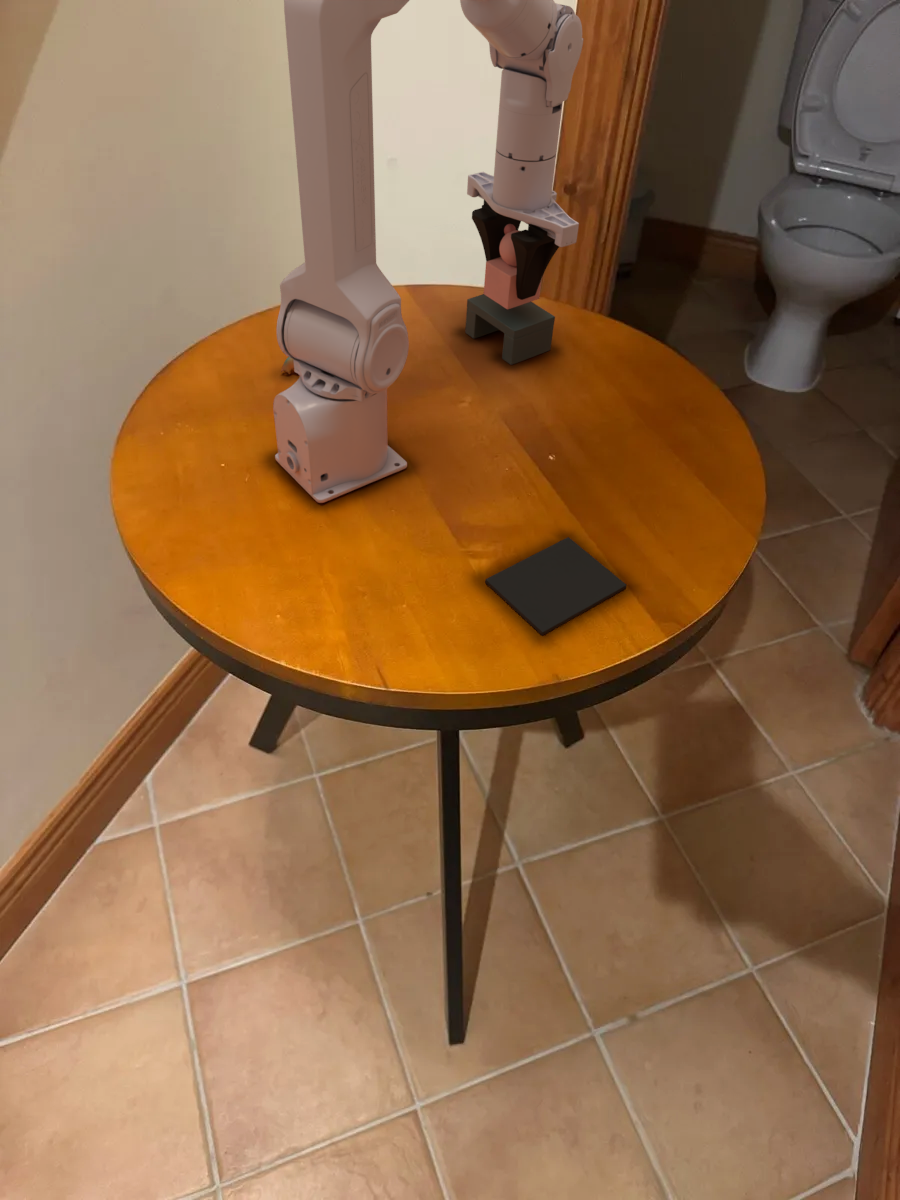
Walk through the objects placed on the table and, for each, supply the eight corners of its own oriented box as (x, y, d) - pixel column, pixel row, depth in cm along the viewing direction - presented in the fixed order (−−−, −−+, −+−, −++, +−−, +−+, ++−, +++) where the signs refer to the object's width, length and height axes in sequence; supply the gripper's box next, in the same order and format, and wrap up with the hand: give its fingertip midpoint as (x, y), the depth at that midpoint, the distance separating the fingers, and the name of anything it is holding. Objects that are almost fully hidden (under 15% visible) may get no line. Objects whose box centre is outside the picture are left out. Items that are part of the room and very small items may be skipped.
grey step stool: (511, 365, 96) (514, 331, 93) (465, 332, 100) (467, 299, 97) (550, 350, 98) (555, 316, 95) (503, 319, 102) (507, 285, 100)
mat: (542, 635, 69) (542, 632, 69) (484, 582, 73) (485, 579, 72) (626, 588, 73) (627, 584, 73) (567, 540, 77) (568, 536, 76)
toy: (507, 309, 93) (514, 241, 88) (483, 294, 95) (488, 226, 90) (539, 299, 95) (547, 231, 90) (515, 283, 97) (521, 216, 92)
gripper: (610, 167, 83) (587, 306, 92) (509, 119, 90) (498, 251, 100) (553, 183, 79) (535, 324, 89) (453, 132, 87) (447, 267, 97)
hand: (512, 287), depth 94 cm, fingers closed on toy, 4 cm apart
